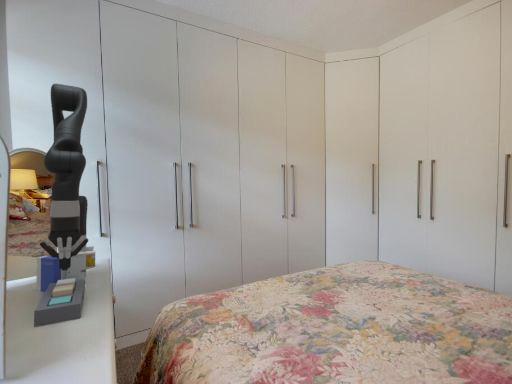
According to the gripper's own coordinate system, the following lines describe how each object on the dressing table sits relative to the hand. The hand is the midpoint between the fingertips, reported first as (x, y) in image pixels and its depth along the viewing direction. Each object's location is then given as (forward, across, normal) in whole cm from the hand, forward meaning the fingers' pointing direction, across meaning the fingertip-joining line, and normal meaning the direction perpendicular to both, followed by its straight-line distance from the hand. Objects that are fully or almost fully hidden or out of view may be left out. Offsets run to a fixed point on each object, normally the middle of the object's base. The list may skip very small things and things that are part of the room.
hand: (64, 269), depth 85 cm
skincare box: (+11, -2, -17) cm, 20 cm away
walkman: (+11, +6, -15) cm, 19 cm away
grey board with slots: (+10, 0, +3) cm, 11 cm away
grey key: (+8, 0, -4) cm, 9 cm away
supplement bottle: (+12, -5, -43) cm, 45 cm away
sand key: (+8, 0, +3) cm, 9 cm away
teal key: (+9, 0, +10) cm, 14 cm away
